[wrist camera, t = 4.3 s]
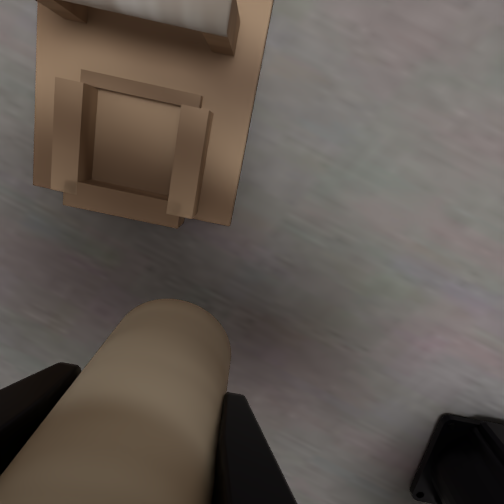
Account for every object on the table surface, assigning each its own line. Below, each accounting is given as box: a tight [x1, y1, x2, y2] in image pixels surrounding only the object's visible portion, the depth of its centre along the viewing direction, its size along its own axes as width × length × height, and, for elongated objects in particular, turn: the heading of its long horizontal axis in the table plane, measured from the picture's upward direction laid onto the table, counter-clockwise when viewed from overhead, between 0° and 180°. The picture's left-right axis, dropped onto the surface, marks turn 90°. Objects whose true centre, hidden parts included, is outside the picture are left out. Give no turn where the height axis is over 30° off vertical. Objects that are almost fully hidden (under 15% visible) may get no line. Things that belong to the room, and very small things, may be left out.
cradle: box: [33, 0, 274, 229], centre depth 14 cm, size 15×10×5 cm, turn 168°
